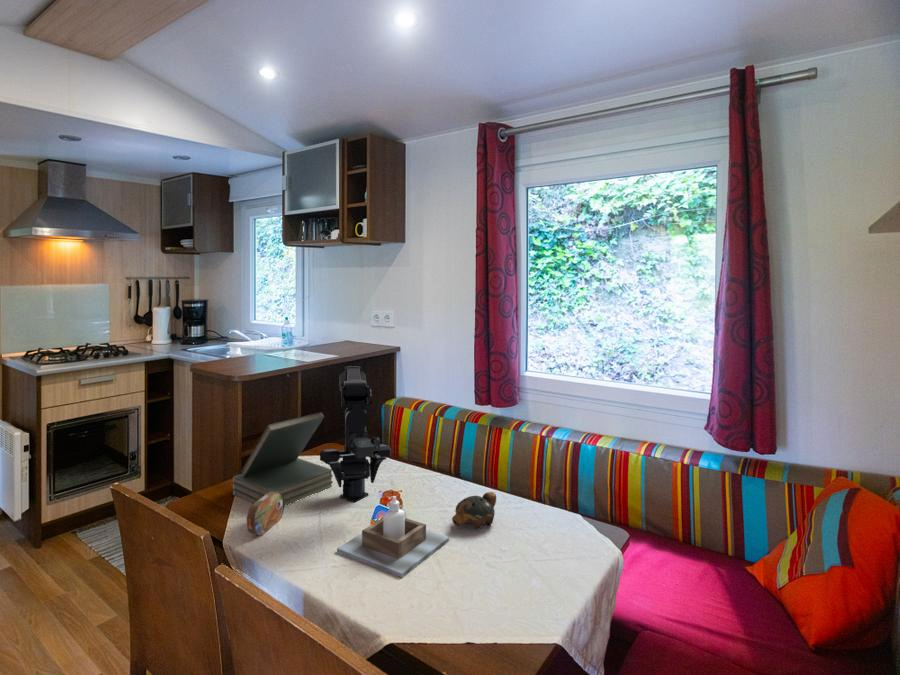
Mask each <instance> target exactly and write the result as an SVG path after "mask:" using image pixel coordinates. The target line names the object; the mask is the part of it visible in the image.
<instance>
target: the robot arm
mask: <svg viewBox="0 0 900 675" xmlns="http://www.w3.org/2000/svg"><path fill="white" fill-rule="evenodd" d="M344 369H345V370H344V371H342V372H341V373H340V374H339V391H341V408H344V409H345V408H346V409H345V411H344V429H345V430H344V432H343V434H344V435H345V436H344V438H345V440H344V442H345V443H344V444H345V445H344V446H343V447H344V448H343V449H344V450H338V449H337V448H336V449H335V448H329V449H322V450H321V451H320V452H319V461H322V462H323V463H324V464H326V465H329V467H330V469H332V471H331V472H332V473H333V475H334V478H335V480H336V482H337V485H338V487H339V488H342V493H341V494H340V495H339V498H341V499H344V500H347V501H350V502H353V503H356V502H357V501H360V500H361V499H364V498H366V497H368V496H369V493H368V492H366V491H365V490H366V489H365V488H366V486H365V482H366V480H368V479H370V483H371V484H374V482H375V480H376V477H377V473H378V471H379V468H380V465H381V464H382V462H383V461H385V460H387V457H391V456H392V449H391V447H390V446H389V445H387V444H383V443H381V442H380V441H381V440H380V437H372V438H369V433H368V431H367V425H368V423H369V417H368V414H367V410H366V409H365V407H366V408H369V407H371V404H373V395H372V389H371V387H370V386H369V385H367V384H368V383H367V377H366V376H367V375H366V373H365V372H364V371H362V366H356V365H355V366H354V365H353V366H352V365H351V366H349V365H348V366H345V367H344ZM368 458H369V459H368ZM340 459H342V460H340ZM369 477H370V478H369ZM342 482H343V484H342Z"/></svg>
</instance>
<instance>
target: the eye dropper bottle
mask: <svg viewBox="0 0 900 675" xmlns="http://www.w3.org/2000/svg"><path fill="white" fill-rule="evenodd" d="M388 504H389V505H388V507H389V509H388V511H386V512H385V514H384V516H383V518H384V521H383V535H385V536H388V537H391V538H394V539H397V540H398V539H400V538H401V537H403V536H404V535H405V518H406V517H405V516H406V515H405V514H406V513H405V511H404V510H403V509H400V501H399V500H397V496H395V495H393V496H392V499H391V500H389V503H388Z"/></svg>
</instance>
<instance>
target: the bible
mask: <svg viewBox="0 0 900 675" xmlns="http://www.w3.org/2000/svg"><path fill="white" fill-rule="evenodd" d="M324 418H325V415H324V414H323V412H322V411H319V412H315V413H312V414H308V415H303V416H300V417H296V418H290V419H288V420H283V421H279V422H275V423H271V424H268V425H267V426H266V427H265V429H264V431H263V433H262V435H261V436H260V438H259V440H258V442H257V444H256V445H255V447H254V449H253V450H252V452H251V454H250V455H249V457H248V459H247V461H245V462H246V463H245V464H244V465H243V467H242V469H241V471H240V473H241V474H237V475H234V476H232V495H233V496H236V497H237V498H240V497H241V499H243V500H245V501H247V502H249V501H250V502H249V503H251V502H252V504H254V503H255V502H257V501H258V500H259V499H261V498H262V497H263V496H264V495H266V494H267V493H269V492H278V491H279V492H281V493H282V494H283V496H284V503H285V504H284V507H286V506H285V505H287V506H289V505H291V504H290V503H292V504H294V503H296V502H295V501H297V500H299V501H301V500H300V499H302V498H304V499H306V498H305V497H307V496H309V497H311V496H310V495H312V494H314V495H316V494H315V493H317V494H319V493H321V491H322V492H324V491H326V490H325V489H327V490H328V488H329V489H331V488H330V487H332V486H333V485H332V484H333V482H334V481H332V479H333V478H332V477H333V475H334V474H332V473H333V471H332V469H331V468H328V467H325V466H323V465H319V464H317V463H314V462H311V461H308V460H305V459H302V458H299V456H300V455H301V453H302V452H303V450H304V449H305V447H306V446H307V444H308V442H309V441H310V439H311V438H312V437H313V435H314V434H315V432H316V430H318V427H319V426H320V424H321V423H322V421H323V420H324ZM323 490H324V491H323ZM318 492H319V493H318ZM312 496H313V495H312ZM307 498H308V497H307ZM302 500H303V499H302ZM293 502H294V503H293ZM297 502H298V501H297ZM288 504H289V505H288Z"/></svg>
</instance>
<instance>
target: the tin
mask: <svg viewBox="0 0 900 675" xmlns="http://www.w3.org/2000/svg"><path fill="white" fill-rule="evenodd" d="M284 504H285V503H284V496H283V494H282V493H281V492H279V491H278V492H269V493H267V494H266V495H264V496H263V497H262V498H261V499H259V500H258V501H257V502H255V503H252V505H251V506H250V507H249V509H248V512H247V515H246V526H247V532H248V533H249V534H251V535H254V536H256V535H257V536H264V535H265V534H266V533H267V532H268V531H269V530H270V529H271V528H273V527H274V526H275V525H276V524H277V523H279V522H280V521H281V519H282V518H283V514H284V510H285V506H284ZM273 525H274V526H273ZM272 526H273V527H272ZM266 531H267V532H266ZM265 532H266V533H265ZM264 533H265V534H264ZM263 534H264V535H263Z"/></svg>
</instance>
